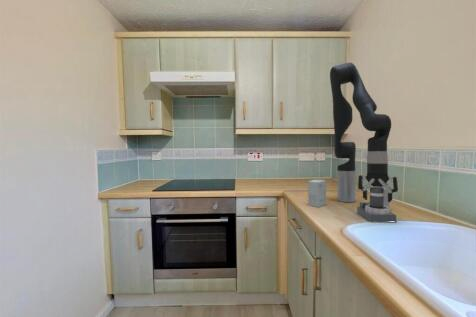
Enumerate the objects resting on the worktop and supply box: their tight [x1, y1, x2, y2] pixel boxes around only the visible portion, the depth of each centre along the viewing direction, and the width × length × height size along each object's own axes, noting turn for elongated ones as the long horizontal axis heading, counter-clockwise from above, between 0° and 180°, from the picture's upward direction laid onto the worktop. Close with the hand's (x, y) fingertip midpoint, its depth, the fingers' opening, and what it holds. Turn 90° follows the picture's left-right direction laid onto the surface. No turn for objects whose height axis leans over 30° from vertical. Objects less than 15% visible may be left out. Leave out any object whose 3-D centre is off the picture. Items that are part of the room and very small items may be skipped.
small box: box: [307, 179, 327, 208], centre depth 127 cm, size 8×6×13 cm
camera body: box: [356, 200, 397, 222], centre depth 103 cm, size 14×10×6 cm
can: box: [372, 186, 391, 208], centre depth 115 cm, size 8×8×12 cm
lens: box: [369, 186, 384, 209], centre depth 100 cm, size 5×5×10 cm
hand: (377, 200), depth 100 cm, fingers open, 8 cm apart
